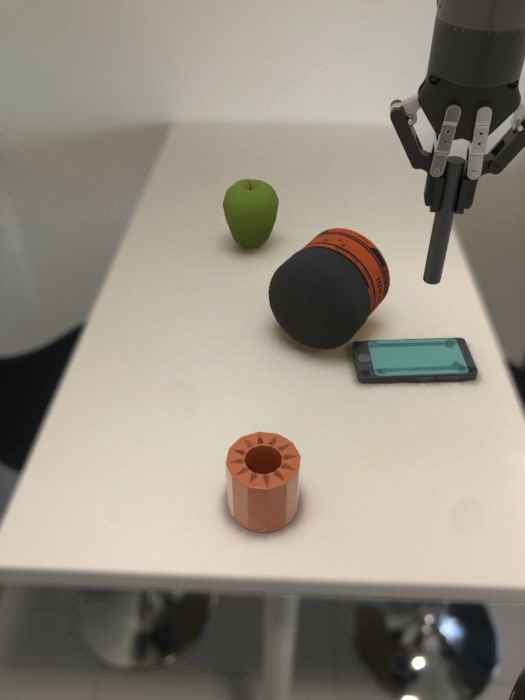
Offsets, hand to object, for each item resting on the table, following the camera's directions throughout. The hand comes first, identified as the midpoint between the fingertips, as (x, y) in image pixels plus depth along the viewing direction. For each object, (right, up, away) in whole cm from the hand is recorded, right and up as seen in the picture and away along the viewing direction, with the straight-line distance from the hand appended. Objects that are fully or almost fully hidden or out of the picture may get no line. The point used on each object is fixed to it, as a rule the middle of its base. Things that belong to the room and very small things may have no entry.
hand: (446, 208), depth 65 cm
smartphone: (+2, -15, +23) cm, 28 cm away
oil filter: (-9, -11, +28) cm, 32 cm away
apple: (-19, +3, +45) cm, 49 cm away
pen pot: (-17, -29, +6) cm, 35 cm away
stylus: (0, -7, +6) cm, 9 cm away
